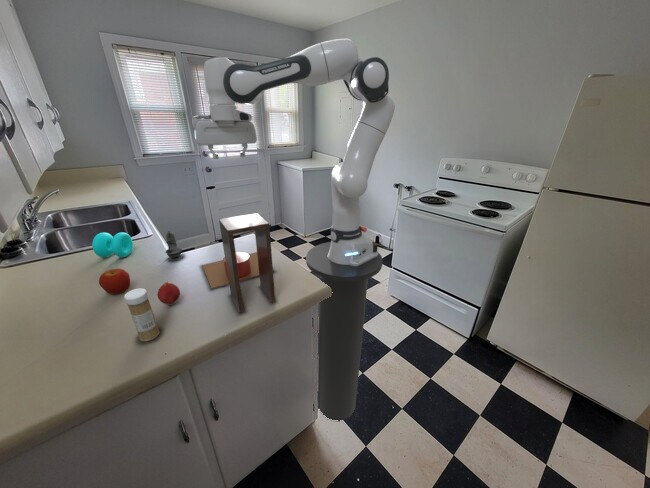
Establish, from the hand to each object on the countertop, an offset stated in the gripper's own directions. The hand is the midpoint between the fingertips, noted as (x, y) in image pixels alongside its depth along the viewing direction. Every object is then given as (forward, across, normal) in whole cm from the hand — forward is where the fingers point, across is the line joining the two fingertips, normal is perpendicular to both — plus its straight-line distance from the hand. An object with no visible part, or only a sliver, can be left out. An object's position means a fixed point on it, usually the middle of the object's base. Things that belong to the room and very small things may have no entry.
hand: (229, 158), depth 96 cm
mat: (+39, -5, -11) cm, 41 cm away
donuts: (+38, -44, +24) cm, 63 cm away
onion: (+39, -28, -22) cm, 53 cm away
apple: (+39, -42, -6) cm, 58 cm away
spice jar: (+39, -34, -34) cm, 62 cm away
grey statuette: (+39, -24, +10) cm, 47 cm away
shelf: (+39, -6, -32) cm, 51 cm away
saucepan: (+38, -6, -7) cm, 40 cm away
